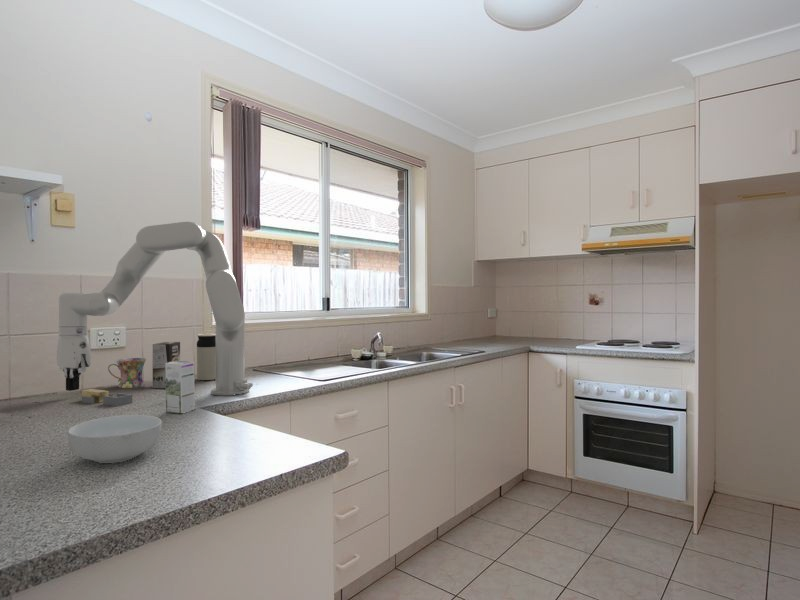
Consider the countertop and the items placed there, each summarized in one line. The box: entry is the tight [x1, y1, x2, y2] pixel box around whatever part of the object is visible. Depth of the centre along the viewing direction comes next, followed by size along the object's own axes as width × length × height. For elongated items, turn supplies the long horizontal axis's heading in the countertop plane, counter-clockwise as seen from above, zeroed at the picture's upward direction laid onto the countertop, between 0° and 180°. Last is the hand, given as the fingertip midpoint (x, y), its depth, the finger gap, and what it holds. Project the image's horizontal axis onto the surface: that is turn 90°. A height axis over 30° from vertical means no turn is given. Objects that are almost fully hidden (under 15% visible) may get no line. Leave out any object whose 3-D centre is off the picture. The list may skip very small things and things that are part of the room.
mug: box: [107, 357, 147, 389], centre depth 175 cm, size 12×9×11 cm
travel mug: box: [196, 333, 216, 381], centre depth 196 cm, size 8×8×18 cm
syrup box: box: [165, 360, 196, 414], centre depth 142 cm, size 6×6×14 cm
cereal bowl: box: [67, 414, 163, 464], centre depth 102 cm, size 17×17×7 cm
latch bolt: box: [81, 388, 110, 404], centre depth 151 cm, size 8×3×3 cm, turn 67°
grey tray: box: [81, 392, 133, 407], centre depth 149 cm, size 15×24×4 cm, turn 157°
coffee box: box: [151, 341, 181, 389], centre depth 181 cm, size 9×6×16 cm
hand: (72, 389), depth 155 cm, fingers closed
